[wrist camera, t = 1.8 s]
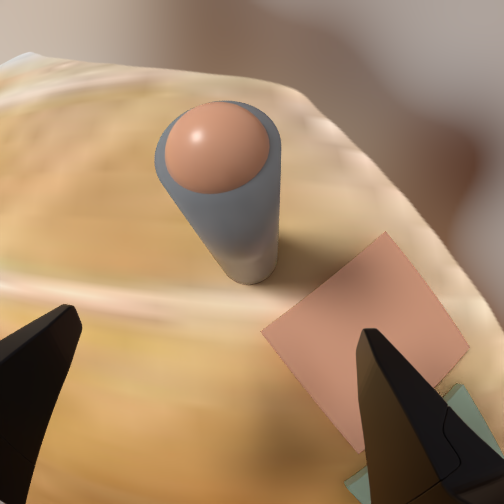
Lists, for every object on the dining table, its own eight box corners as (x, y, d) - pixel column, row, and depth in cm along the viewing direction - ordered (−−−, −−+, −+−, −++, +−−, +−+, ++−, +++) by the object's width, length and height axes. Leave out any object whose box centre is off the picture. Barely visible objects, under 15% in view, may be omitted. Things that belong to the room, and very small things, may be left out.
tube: (280, 281, 21) (291, 174, 7) (221, 286, 21) (133, 193, 7) (274, 226, 22) (272, 68, 8) (218, 231, 22) (147, 86, 9)
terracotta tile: (462, 347, 19) (469, 347, 18) (354, 449, 17) (358, 454, 16) (381, 235, 21) (385, 231, 20) (260, 331, 20) (260, 331, 19)
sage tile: (500, 459, 15) (506, 462, 14) (406, 544, 14) (410, 550, 13) (456, 383, 18) (463, 384, 17) (343, 482, 17) (346, 487, 16)
